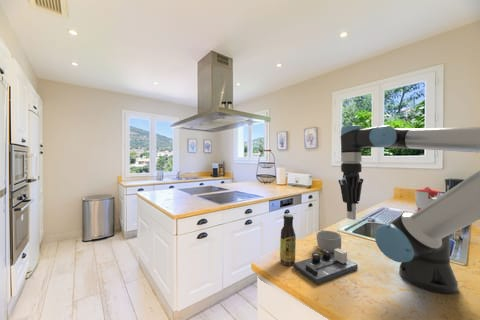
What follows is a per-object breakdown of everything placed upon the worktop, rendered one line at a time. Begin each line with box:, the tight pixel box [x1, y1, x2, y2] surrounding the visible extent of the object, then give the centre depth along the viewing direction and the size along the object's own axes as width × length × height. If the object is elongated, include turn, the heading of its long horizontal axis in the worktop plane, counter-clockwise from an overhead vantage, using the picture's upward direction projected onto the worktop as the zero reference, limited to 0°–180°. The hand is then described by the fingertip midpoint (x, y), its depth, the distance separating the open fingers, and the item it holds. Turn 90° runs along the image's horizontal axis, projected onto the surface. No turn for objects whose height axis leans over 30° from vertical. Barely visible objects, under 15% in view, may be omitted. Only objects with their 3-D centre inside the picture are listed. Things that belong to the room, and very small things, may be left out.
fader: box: [334, 248, 348, 263], centre depth 81 cm, size 4×2×4 cm, turn 26°
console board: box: [292, 250, 359, 286], centre depth 80 cm, size 12×22×4 cm, turn 116°
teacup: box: [315, 229, 342, 253], centre depth 96 cm, size 14×11×8 cm
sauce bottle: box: [279, 214, 297, 266], centre depth 85 cm, size 6×6×20 cm
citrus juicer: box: [414, 186, 442, 211], centre depth 164 cm, size 16×17×20 cm
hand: (351, 218), depth 84 cm, fingers closed
